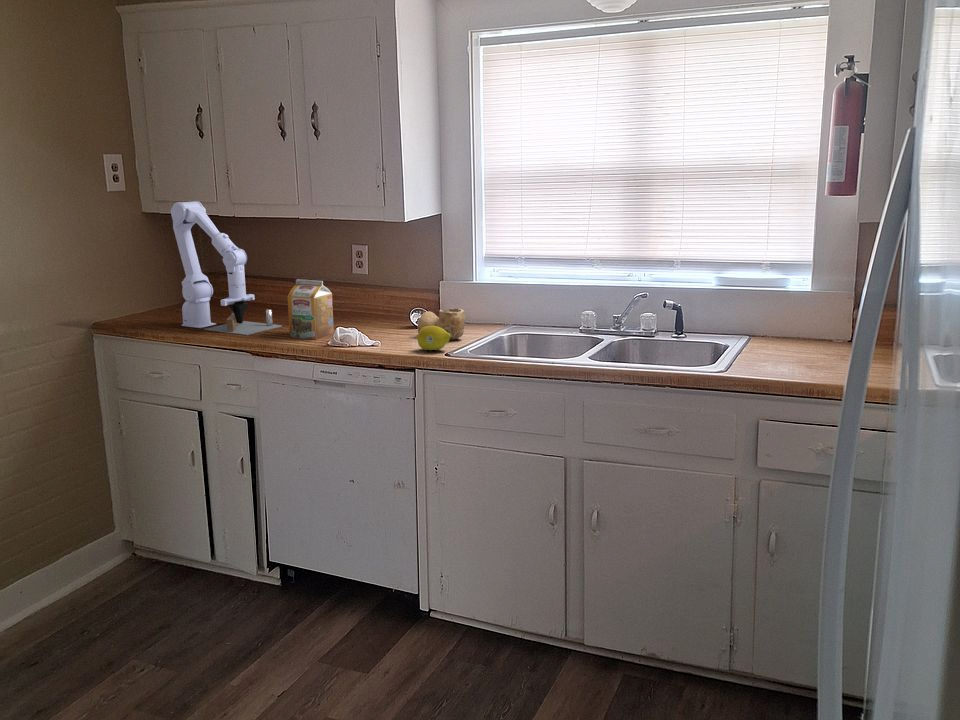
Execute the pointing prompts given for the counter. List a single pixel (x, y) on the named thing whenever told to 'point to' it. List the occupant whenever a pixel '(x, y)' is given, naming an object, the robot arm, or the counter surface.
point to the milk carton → (310, 310)
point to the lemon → (432, 338)
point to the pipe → (445, 321)
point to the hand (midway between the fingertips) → (239, 323)
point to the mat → (244, 328)
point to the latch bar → (231, 322)
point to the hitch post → (269, 317)
